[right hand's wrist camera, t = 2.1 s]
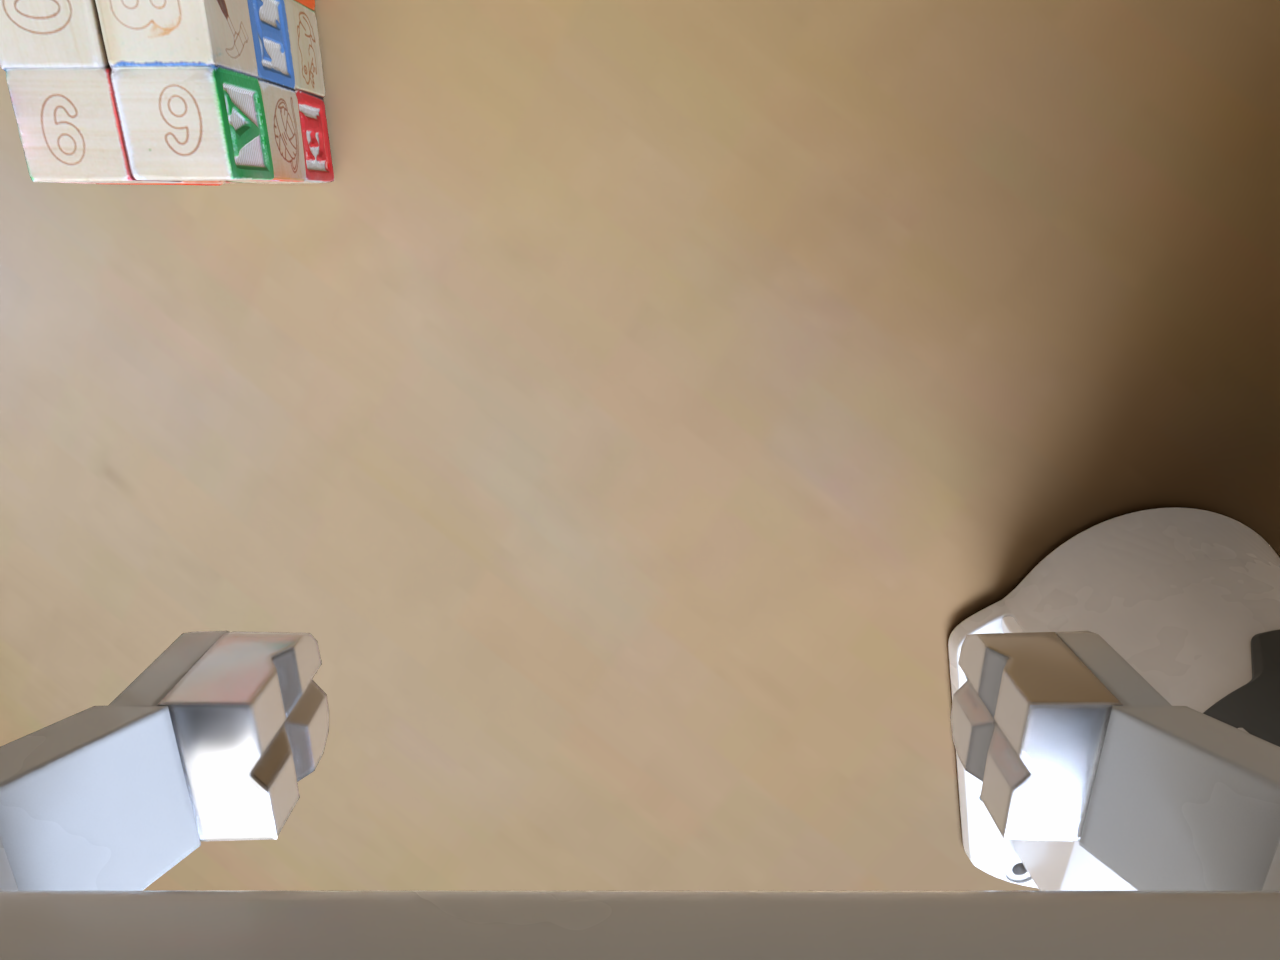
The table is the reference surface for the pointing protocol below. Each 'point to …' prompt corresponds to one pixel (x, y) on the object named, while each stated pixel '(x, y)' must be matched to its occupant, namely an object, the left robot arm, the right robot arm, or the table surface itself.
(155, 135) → the stack of blocks
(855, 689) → the table surface
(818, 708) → the table surface
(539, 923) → the right robot arm
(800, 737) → the table surface
